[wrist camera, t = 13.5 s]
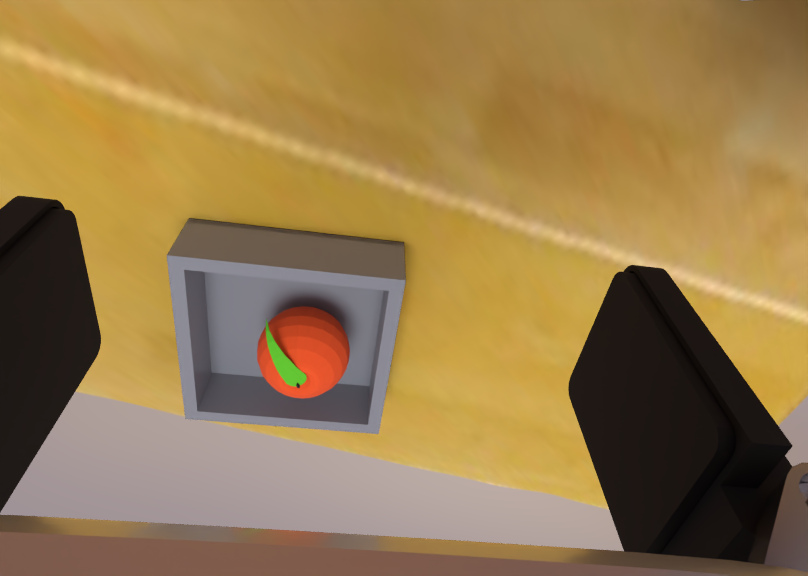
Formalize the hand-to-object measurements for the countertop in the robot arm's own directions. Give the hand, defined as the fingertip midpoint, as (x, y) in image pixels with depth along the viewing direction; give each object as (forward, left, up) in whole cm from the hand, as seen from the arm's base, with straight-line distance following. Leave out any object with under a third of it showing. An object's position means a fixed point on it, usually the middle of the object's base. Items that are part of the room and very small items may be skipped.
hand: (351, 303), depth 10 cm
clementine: (+3, +23, -28) cm, 36 cm away
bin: (+4, +23, -28) cm, 37 cm away
